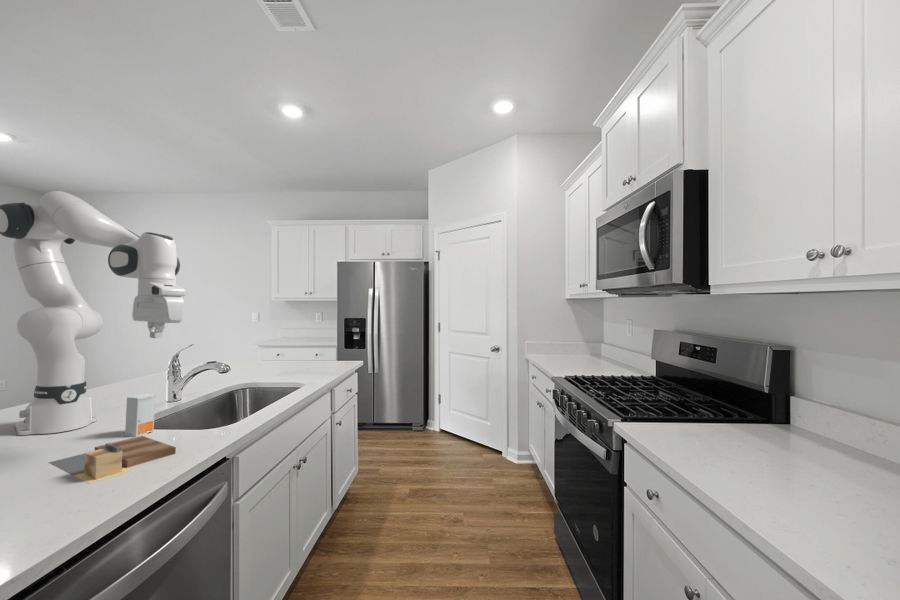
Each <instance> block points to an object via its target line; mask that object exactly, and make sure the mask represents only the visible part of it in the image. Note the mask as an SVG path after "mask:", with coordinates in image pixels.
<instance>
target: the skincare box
mask: <svg viewBox="0 0 900 600" xmlns="http://www.w3.org/2000/svg"><path fill="white" fill-rule="evenodd" d="M155 406H156V394H154V393H153V394H152V393H141V394H136V395H134V396H127V397H126V409H125V410H126V411H125V429H124V433H125V434H124V437H131V438H135V437H139V436H143V435H147V433H148V432H147V431H153V432H154V427H155ZM148 434H149V433H148Z"/></svg>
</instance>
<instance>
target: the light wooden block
mask: <svg viewBox="0 0 900 600" xmlns="http://www.w3.org/2000/svg"><path fill="white" fill-rule="evenodd" d="M111 443H112V442H107V443H105V444H104V445H105V448H103V449H98V450H95V449H94V450H90V451H87V452H84V454H85V463H84V474H85V475H87V476H89V477H91V478H93V479H95V480H96V479H100V478H103V477H106V476H110V475H113V474H117V473H120V472H122V467H123V466H122V451H121V447H119V446H116V445H114V444H111Z"/></svg>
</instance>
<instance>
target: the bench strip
mask: <svg viewBox="0 0 900 600" xmlns="http://www.w3.org/2000/svg"><path fill="white" fill-rule="evenodd" d="M84 463H85V453H82V454H78V455H73V456H70V457H69V456H68V457H65V458H61V459H57V460H53V461H49V462H48V464H50V465H52V466H55V467H56V468H58V469H60V470H62V471H64V472H66V473H68V474H70V475H72V476H74V477H76V478H77V479H80V480H81V481H83V482H85V483H88V484H93V483H97V482H99V481H103V480H105V479H106V480H107V479H109V478H112V477H116V476H120V475H123V474H126V473H130V472H131V470H130V469H128V468H127V467H124V466H122V472H120V473H117V474H113V475H110V476H106V477H103V478H100V479H96V480H95V479H93V478H91V477H89V476H87V475H85V474H84Z"/></svg>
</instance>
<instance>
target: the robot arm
mask: <svg viewBox="0 0 900 600" xmlns="http://www.w3.org/2000/svg"><path fill="white" fill-rule="evenodd" d="M0 235H1V236H3V237H4V238H9V239H10V238H11V239H15V240H14V241H13V253H14V259H15V263H16V266H17V269H18V271H19V274H20V277H21V281H22V283H23V285H24V289H25V291H26V293H27V295H28V296H29V297H31V298H32V299H34V300H35V301H37V302H38V303H40V305H41V306H42V307H40V308H36V309H32V310H29V311H27V312H24V313H23V314H21V316H20V317H19V318H18V320H17V324H16V328H17V332H18V335H20V337H22V338H23V339H24V340H26V341H27V342H28V343H29V344H30V346H31V348H32V350H33V353H34V355H35V358H36V363H37V376H36V377H37V385H36V386H35V387H34V390H33V399H32V400H31V401H30V403H29V404H28V405H27V406H26V407H25V409H23V410H22V409H21V410H19V413H18V414H19V415H18V416H19V418H20V419H23V418H24V419H23V420H22V421H19V422H15V424H14V429H15V431H16V434H17V435H18V436H28V435H46V434H56V433H63V432H68V431H74V430H77V429H81V428H84V427H86V426H89V425H90V424H92V423H94V422H97V421H98V417H97V416H93V410H92V407H93V406H92V397H90V396H88V395H87V394H86V393H87V388H88V387H87V381H86V380H85V379H86V357H84V356H83V355H82V354H81V353H80V352H79V351H78V349H77V346H76V342H75V341H76V340H82V339H84V340H85V339H87V338H89V337H91V336H94V335H96V334H97V333H99V332H100V331H101V330H102V328H103V325H104V320H103V316H102V315H101V313H100V312H99V311H97V310H95V309H94V308H92V307H91V306H90V305H89V303H87V301H86V300H85V298H83V296H82V294H81V293H80V292H79V291H78V289H77V287H76V285H75V284H74V282H73V279H72V278H73V277H72V276H71V274H70V271H69V268H68V266H67V264H66V263H67V262H66V260H65V258H64V256H63V254H62V250H61V246H62V244H63V243H64V244H68V245H72V244H73V243H74V242H75V241H77V242H80V243H85V244H88V245H93V246H94V245H95V246H102V247H107V248H111V250H110V252H109V254H108V258H107V263H108V267H109V268H110V270H111V272H112V273H113V274H114V275H116V276H118V277H123V278H131V279H137V295H136V296H135V297H134V299H133V305H132V312H131V313H132V314H131V316H132V320H133V321H135V322H146V323H147V328H148V330H149V338H150V339H161V338H162V337H163V331H164V329H165V326H166V324H179V323H181V322H182V320H183V317H184V307H185V306H184V305H185V300H184V297H185V296H186V289H185V288H184V287H182V286H180V285H179V284H177V275H178V274H179V271H180V269H181V262H180V259H179V257H178V249H177V244H176V241H175V239H174V238H173V237H171V236H169V235H165V234H159V233H155V232H150V231H149V232H148V231H147V232H142V234H141V235H140V236H139V235H138V234H136V233H135V232H132V231H131V230H129V229H127V228H126V227H124V226H122V224H119V223H117V222H116V221H115V220H113V219H111V218H110V217H108V216H107V215H105V214H103V213H102V212H100V211H99V210H98V209H97V208H95V207H94V206H92V205H91V204H89V203H88V202H87V201H84V200H83V199H81V198H80V197H78V196H75V195H74V194H71V193H69V192H66V191H64V190H63V191H62V190H52V191H48V192H46V193H44V194H43V195H42V196H41V197H40V199H39V201H38V202H37V203H26V202H10V203H4V204H0Z"/></svg>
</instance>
